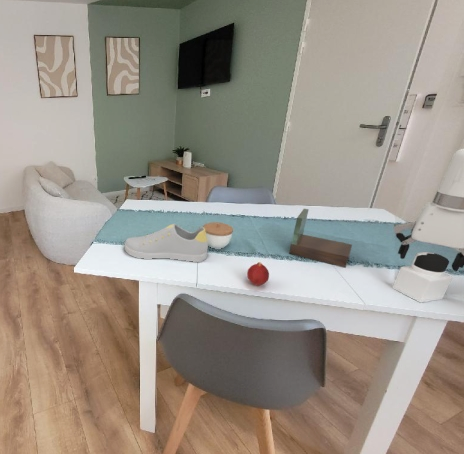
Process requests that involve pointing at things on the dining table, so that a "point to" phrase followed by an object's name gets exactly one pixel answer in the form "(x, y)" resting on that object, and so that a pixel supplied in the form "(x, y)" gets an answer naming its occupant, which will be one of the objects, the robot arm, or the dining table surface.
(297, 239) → the brown hinged box
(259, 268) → the onion
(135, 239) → the shoe
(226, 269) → the dining table surface
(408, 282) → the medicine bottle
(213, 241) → the trinket box
